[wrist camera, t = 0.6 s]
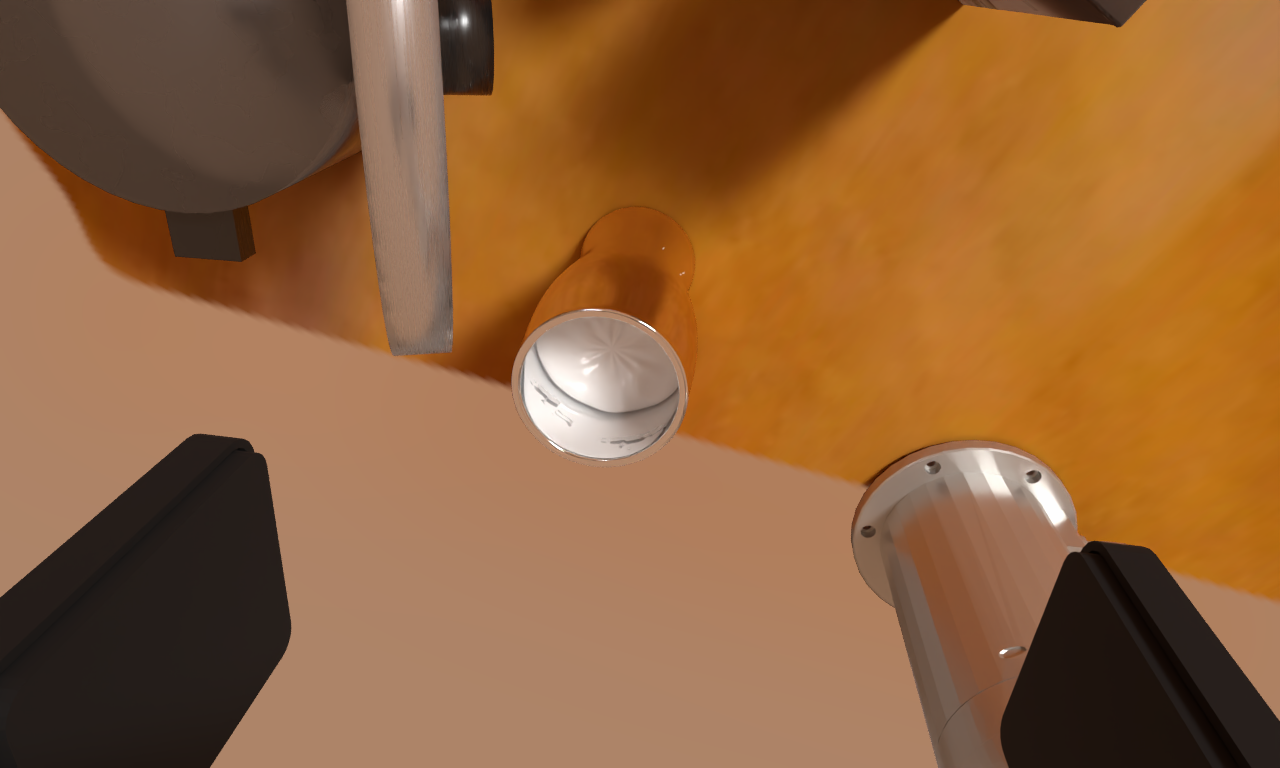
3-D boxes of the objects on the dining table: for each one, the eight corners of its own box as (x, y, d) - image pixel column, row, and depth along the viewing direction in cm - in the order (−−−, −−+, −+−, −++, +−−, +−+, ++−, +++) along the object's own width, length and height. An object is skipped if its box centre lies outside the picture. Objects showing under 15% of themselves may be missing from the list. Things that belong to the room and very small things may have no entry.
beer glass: (659, 345, 45) (632, 502, 32) (549, 281, 44) (474, 415, 31) (729, 242, 42) (731, 367, 29) (613, 171, 41) (560, 266, 28)
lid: (327, -286, 26) (450, -271, 27) (379, 237, 33) (473, 235, 34) (218, -656, 10) (525, -588, 11) (362, 485, 18) (535, 468, 19)
